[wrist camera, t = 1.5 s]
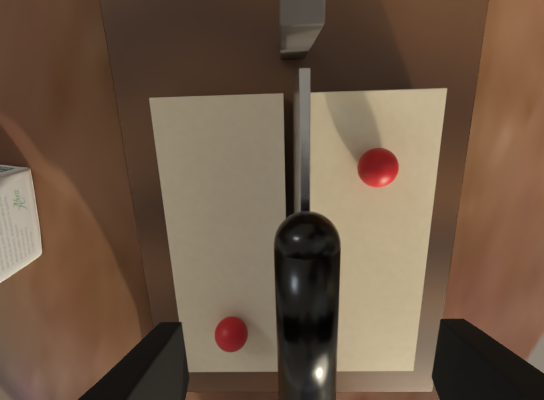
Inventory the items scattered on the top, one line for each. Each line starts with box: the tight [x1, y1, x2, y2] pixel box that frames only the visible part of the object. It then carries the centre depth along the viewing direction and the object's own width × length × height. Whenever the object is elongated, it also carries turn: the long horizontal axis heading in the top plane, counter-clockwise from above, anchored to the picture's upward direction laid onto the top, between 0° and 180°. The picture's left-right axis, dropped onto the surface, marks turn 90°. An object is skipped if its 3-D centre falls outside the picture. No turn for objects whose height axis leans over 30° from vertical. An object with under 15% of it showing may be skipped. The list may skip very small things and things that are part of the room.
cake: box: [149, 88, 447, 372], centre depth 16 cm, size 14×12×5 cm
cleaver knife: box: [274, 68, 341, 400], centre depth 12 cm, size 15×2×6 cm, turn 2°
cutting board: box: [100, 0, 489, 392], centre depth 15 cm, size 24×18×8 cm
